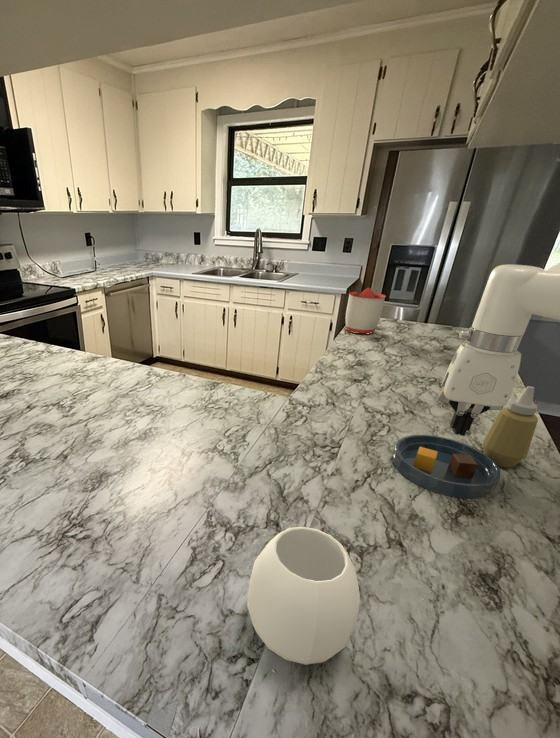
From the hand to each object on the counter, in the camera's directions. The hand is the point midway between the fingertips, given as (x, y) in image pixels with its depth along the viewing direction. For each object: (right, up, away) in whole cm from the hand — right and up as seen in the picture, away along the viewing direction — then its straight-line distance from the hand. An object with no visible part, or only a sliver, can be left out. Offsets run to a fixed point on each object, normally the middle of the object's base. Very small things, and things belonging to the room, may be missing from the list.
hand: (457, 431), depth 77 cm
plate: (+1, -9, +7) cm, 11 cm away
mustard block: (-2, -8, +8) cm, 11 cm away
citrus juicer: (+24, +43, +109) cm, 119 cm away
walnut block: (+4, -9, +6) cm, 11 cm away
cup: (-38, -25, -26) cm, 52 cm away
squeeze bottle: (+16, -7, +11) cm, 21 cm away
